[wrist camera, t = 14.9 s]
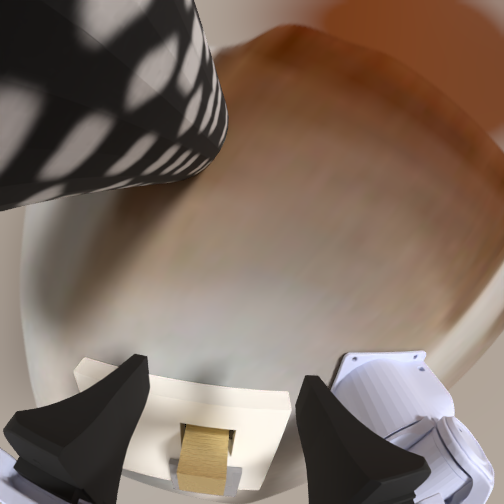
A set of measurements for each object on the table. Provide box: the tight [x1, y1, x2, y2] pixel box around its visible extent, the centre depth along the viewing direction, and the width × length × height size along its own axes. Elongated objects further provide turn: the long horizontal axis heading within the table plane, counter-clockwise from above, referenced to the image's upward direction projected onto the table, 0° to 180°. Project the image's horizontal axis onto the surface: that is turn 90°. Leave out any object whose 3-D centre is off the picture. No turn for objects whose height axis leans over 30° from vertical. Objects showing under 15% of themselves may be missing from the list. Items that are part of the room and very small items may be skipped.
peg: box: [177, 424, 229, 496], centre depth 20 cm, size 4×4×8 cm
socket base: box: [73, 357, 292, 490], centre depth 24 cm, size 20×18×2 cm
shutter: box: [169, 458, 242, 497], centre depth 23 cm, size 8×8×3 cm
